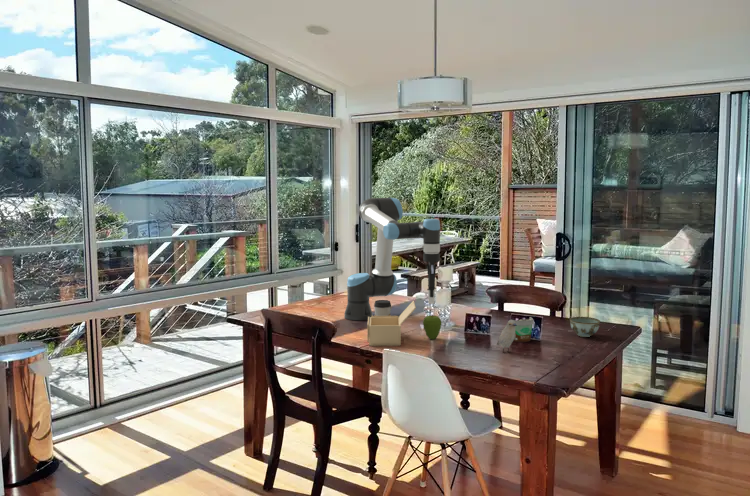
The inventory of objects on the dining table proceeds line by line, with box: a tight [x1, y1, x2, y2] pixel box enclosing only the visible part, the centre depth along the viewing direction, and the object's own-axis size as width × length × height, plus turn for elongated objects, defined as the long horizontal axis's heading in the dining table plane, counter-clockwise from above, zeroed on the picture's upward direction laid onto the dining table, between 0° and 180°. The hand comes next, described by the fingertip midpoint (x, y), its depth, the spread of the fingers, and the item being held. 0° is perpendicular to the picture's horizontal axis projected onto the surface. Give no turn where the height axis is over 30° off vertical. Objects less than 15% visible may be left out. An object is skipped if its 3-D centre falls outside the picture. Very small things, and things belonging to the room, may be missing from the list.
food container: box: [512, 316, 535, 343], centre depth 284 cm, size 12×6×10 cm, turn 117°
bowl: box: [569, 316, 601, 338], centre depth 292 cm, size 14×13×8 cm
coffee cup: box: [373, 299, 392, 316], centre depth 302 cm, size 8×8×15 cm
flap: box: [398, 300, 417, 325], centre depth 284 cm, size 16×1×10 cm
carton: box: [366, 315, 402, 347], centre depth 285 cm, size 20×15×10 cm
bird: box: [496, 319, 517, 354], centre depth 264 cm, size 5×14×15 cm, turn 23°
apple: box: [422, 314, 442, 340], centre depth 288 cm, size 9×8×12 cm
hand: (431, 303), depth 286 cm, fingers closed
